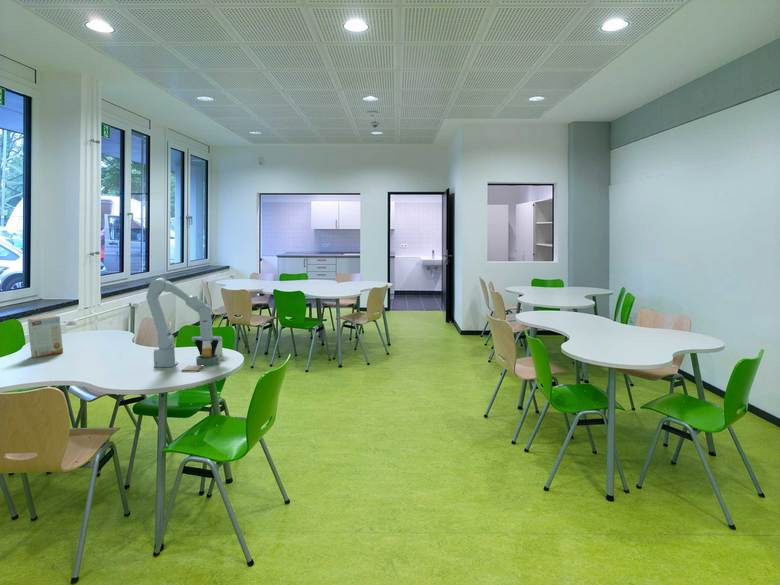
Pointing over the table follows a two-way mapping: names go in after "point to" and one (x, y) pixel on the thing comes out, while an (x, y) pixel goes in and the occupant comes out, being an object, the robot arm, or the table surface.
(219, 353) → the cup
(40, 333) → the cracker box
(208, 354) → the ball
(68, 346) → the table surface
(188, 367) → the pad
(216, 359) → the bowl
